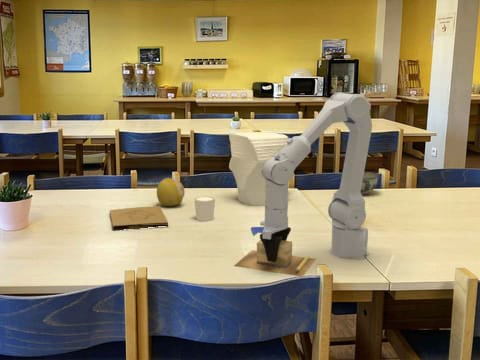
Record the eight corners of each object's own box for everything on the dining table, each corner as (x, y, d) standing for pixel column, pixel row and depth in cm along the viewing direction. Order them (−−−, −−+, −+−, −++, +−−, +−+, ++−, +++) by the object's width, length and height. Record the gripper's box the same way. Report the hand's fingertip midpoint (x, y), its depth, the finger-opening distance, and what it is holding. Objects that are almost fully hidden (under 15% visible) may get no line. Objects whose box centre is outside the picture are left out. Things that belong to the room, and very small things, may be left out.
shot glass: (219, 218, 185) (219, 198, 183) (204, 223, 180) (204, 202, 178) (205, 214, 189) (205, 195, 188) (190, 218, 185) (190, 198, 183)
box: (109, 214, 191) (109, 208, 190) (160, 211, 195) (159, 205, 195) (112, 232, 171) (111, 225, 170) (168, 228, 175) (168, 221, 175)
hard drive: (283, 238, 161) (276, 226, 174) (255, 239, 161) (250, 226, 173) (283, 243, 162) (276, 231, 174) (255, 244, 161) (250, 231, 173)
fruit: (167, 210, 194) (167, 183, 192) (151, 204, 202) (150, 178, 200) (191, 206, 201) (190, 179, 199) (174, 200, 209) (173, 174, 207)
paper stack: (224, 197, 215) (224, 131, 209) (288, 192, 223) (290, 129, 217) (240, 210, 195) (241, 139, 190) (310, 205, 203) (312, 136, 198)
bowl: (352, 188, 231) (353, 169, 230) (382, 192, 224) (384, 173, 222) (338, 194, 220) (338, 175, 219) (369, 199, 213) (370, 179, 211)
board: (315, 263, 144) (316, 259, 144) (302, 281, 132) (302, 276, 132) (251, 254, 151) (252, 250, 151) (233, 270, 139) (233, 265, 139)
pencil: (306, 258, 144) (307, 255, 144) (309, 258, 144) (309, 256, 144) (294, 273, 134) (294, 270, 134) (297, 273, 134) (297, 270, 134)
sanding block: (291, 261, 142) (292, 241, 140) (286, 267, 138) (287, 247, 136) (262, 257, 145) (262, 237, 143) (256, 263, 141) (256, 242, 139)
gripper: (270, 198, 146) (269, 247, 149) (251, 212, 133) (250, 265, 136) (296, 201, 143) (294, 250, 146) (278, 215, 130) (277, 269, 133)
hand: (275, 258), depth 141 cm, fingers closed on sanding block, 4 cm apart
